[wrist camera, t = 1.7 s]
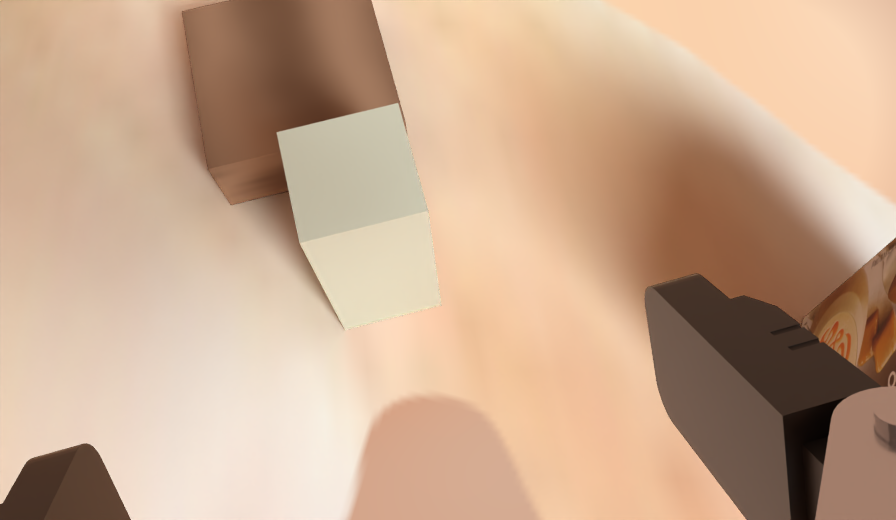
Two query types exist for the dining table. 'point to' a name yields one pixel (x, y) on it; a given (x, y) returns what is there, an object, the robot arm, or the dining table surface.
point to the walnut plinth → (279, 80)
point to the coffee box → (863, 318)
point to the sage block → (362, 215)
